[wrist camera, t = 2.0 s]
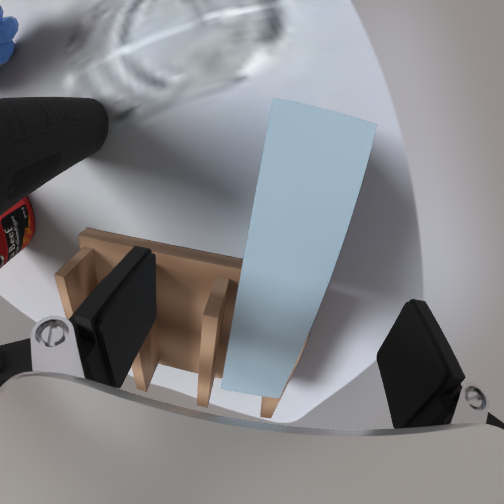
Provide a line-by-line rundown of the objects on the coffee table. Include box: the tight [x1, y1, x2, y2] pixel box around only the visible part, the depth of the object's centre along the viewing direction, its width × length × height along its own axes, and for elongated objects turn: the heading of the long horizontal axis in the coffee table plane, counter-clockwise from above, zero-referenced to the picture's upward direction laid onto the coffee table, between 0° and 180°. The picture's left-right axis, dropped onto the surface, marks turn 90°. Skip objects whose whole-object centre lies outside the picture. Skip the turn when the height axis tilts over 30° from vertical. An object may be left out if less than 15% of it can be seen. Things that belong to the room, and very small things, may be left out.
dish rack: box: [54, 228, 310, 418], centre depth 24 cm, size 14×20×6 cm
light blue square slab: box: [221, 98, 377, 398], centre depth 15 cm, size 12×3×12 cm, turn 170°
